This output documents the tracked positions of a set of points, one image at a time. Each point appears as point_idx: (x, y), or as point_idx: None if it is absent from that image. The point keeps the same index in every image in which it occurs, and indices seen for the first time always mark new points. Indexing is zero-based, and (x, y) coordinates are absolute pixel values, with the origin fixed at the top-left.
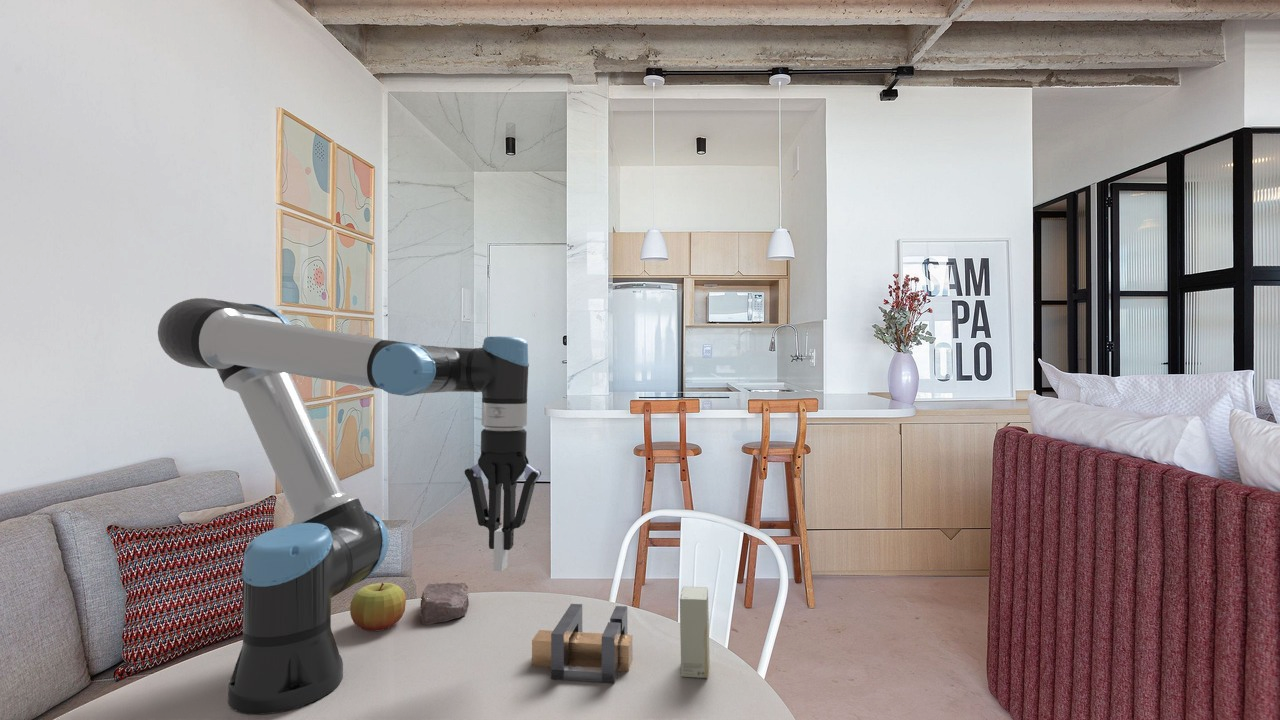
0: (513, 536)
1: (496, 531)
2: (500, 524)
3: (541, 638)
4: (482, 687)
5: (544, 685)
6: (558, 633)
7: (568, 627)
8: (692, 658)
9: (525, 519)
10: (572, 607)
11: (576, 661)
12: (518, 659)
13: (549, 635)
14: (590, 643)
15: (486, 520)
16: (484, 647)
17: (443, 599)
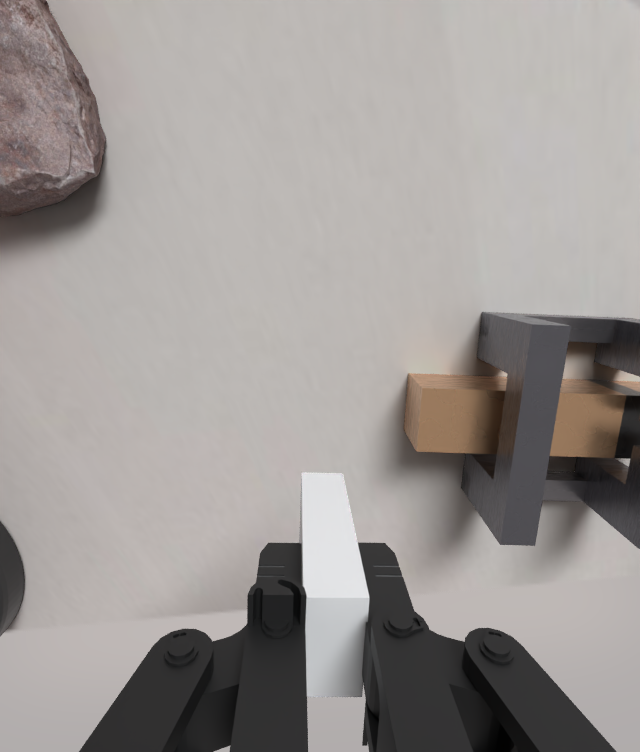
0: (405, 588)
1: (314, 695)
2: (303, 607)
3: (439, 439)
4: None
5: (451, 511)
6: (520, 541)
7: (541, 496)
8: None
9: (537, 670)
10: (539, 356)
11: None
12: (364, 407)
13: (458, 418)
14: (574, 455)
15: (215, 742)
16: (257, 351)
17: (9, 156)
